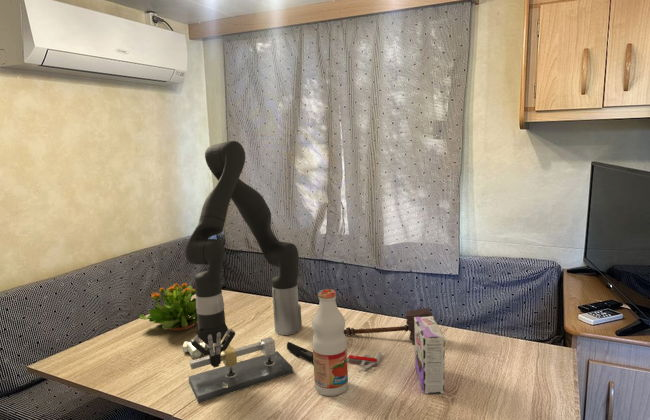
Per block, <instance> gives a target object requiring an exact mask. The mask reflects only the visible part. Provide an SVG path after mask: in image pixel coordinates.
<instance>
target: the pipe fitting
mask: <svg viewBox="0 0 650 420" xmlns="http://www.w3.org/2000/svg"><path fill="white" fill-rule="evenodd" d="M200 345H202V346H203V347H204V348H205V349H208V347H207V344H205V343H204V342H203V341H200ZM182 352H183V353H189V355H190V357H191V358H192V359H193V360H195V359H199V358H201V356H202V353H201V352H200V351H198V350H197V349H196V348H195V347H194V346H192V344H191V342H190V340H189V341H187V340H186V341H184V342H183V344H182Z"/></svg>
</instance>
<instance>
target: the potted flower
mask: <svg viewBox="0 0 650 420" xmlns="http://www.w3.org/2000/svg"><path fill="white" fill-rule="evenodd" d="M158 291H159V293H158V292H154V291H153V292H152V293H151V296H150V298H151V299H153V300H154V301H155V303H156V304H155V306H154V308H153V307H152V308H151V309H149V310H148V311H147V312H148V315H147V317H146V316H145V314H142V313H141V314H140V315H139V319H140V320H144V321H146V320H149V322H150V323H151V322H152V323H153V324H155V323H156V324H160V325H161V327H162V329H163V330H168V329H169V330H170V331H174V332H175V331H177V332H178V331H185V330H189V329H190V328H193V327H194V325H195V323H196V322H197V323H198V321H197V310H196V297H193V295H194V294H196V290H195V288H193V286H192V285H188V283H186V282H184V283H182V284H181V285H180V284H179V283H174V284H173V285H170V286H169V287H168V288H166V289H165V288H164V287H161V288H159V290H158ZM192 297H193V298H192ZM160 299H162V300H163V305H161V304H160V303H159V301H158V300H160Z"/></svg>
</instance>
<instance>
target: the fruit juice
mask: <svg viewBox="0 0 650 420" xmlns="http://www.w3.org/2000/svg"><path fill="white" fill-rule="evenodd" d="M317 297H318V300H319V304H318V308H317V311H316V312H315V314H314V315H313V317H312V320H311V327H312V330H313V337H312V352H313V363H314V366H313V377H314V379H313V380H314V388H315V391H316V392H317V393H318V394H320V395H321V396H327V397H334V396H335V397H336V396H339V395H341V394H344V393H345V392H346V391H347V390H348V387H349V375H348V374H349V373H348V369H349V368H348V360H347V357H348V345H347V337H346V334H344V330H345V329H346V320H345V316H344V315H343V313H342V312H340V310H339V308H338V305H337V302H336V298H337V291H336V290H335V289H333V288H332V289H331V288H326V289H321V290H318V292H317Z"/></svg>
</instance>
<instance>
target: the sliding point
mask: <svg viewBox="0 0 650 420" xmlns="http://www.w3.org/2000/svg"><path fill="white" fill-rule="evenodd" d="M235 349H236V348H234V347H233V346H231V345H230V344H229V346H228V347H227V349H226V350H225V351H222V352H221V354H222V355H223V361H222V363H223V365H224V366H226V367H229V374H232V373H233V370H232V366H233V365H236V364H237V362H238V360H237V359H238V357H236V351H235Z"/></svg>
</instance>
